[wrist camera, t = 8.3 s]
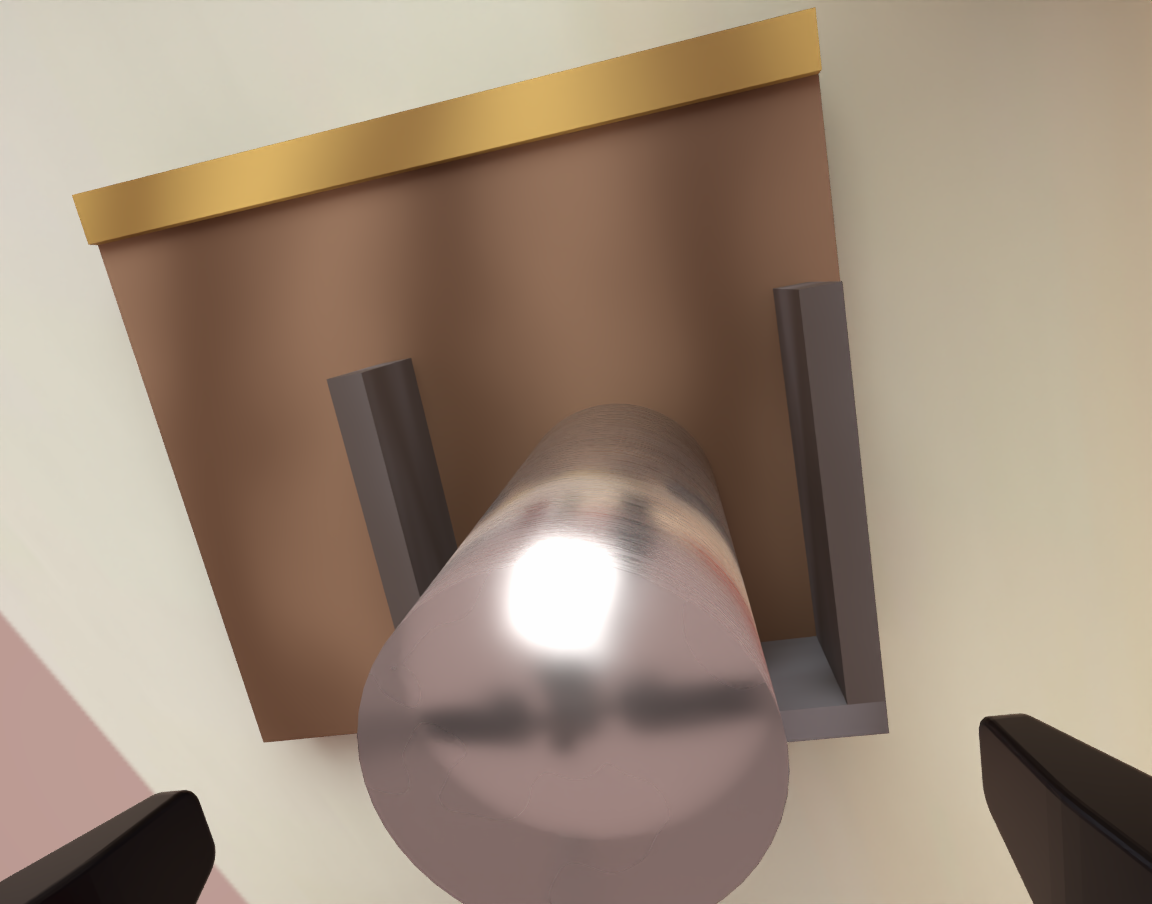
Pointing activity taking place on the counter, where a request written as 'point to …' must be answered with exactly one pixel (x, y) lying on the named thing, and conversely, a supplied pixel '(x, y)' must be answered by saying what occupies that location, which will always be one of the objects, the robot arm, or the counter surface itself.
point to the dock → (506, 351)
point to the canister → (583, 687)
